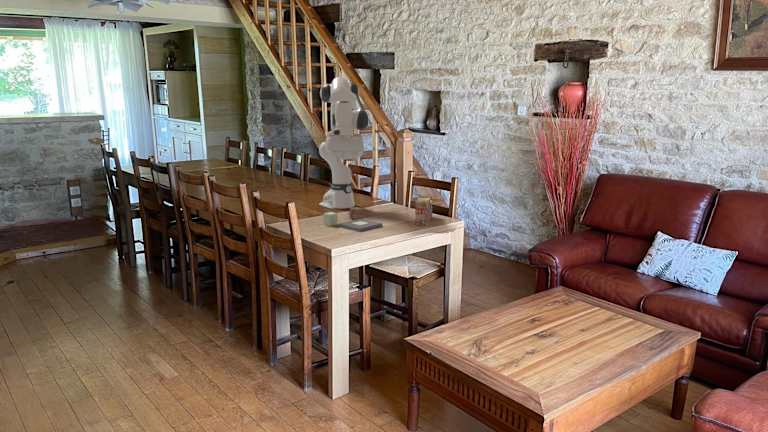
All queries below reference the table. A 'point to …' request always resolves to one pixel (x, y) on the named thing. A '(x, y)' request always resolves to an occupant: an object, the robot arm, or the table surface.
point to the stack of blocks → (423, 211)
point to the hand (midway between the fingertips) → (345, 161)
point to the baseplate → (360, 224)
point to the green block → (330, 219)
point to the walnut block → (356, 213)
